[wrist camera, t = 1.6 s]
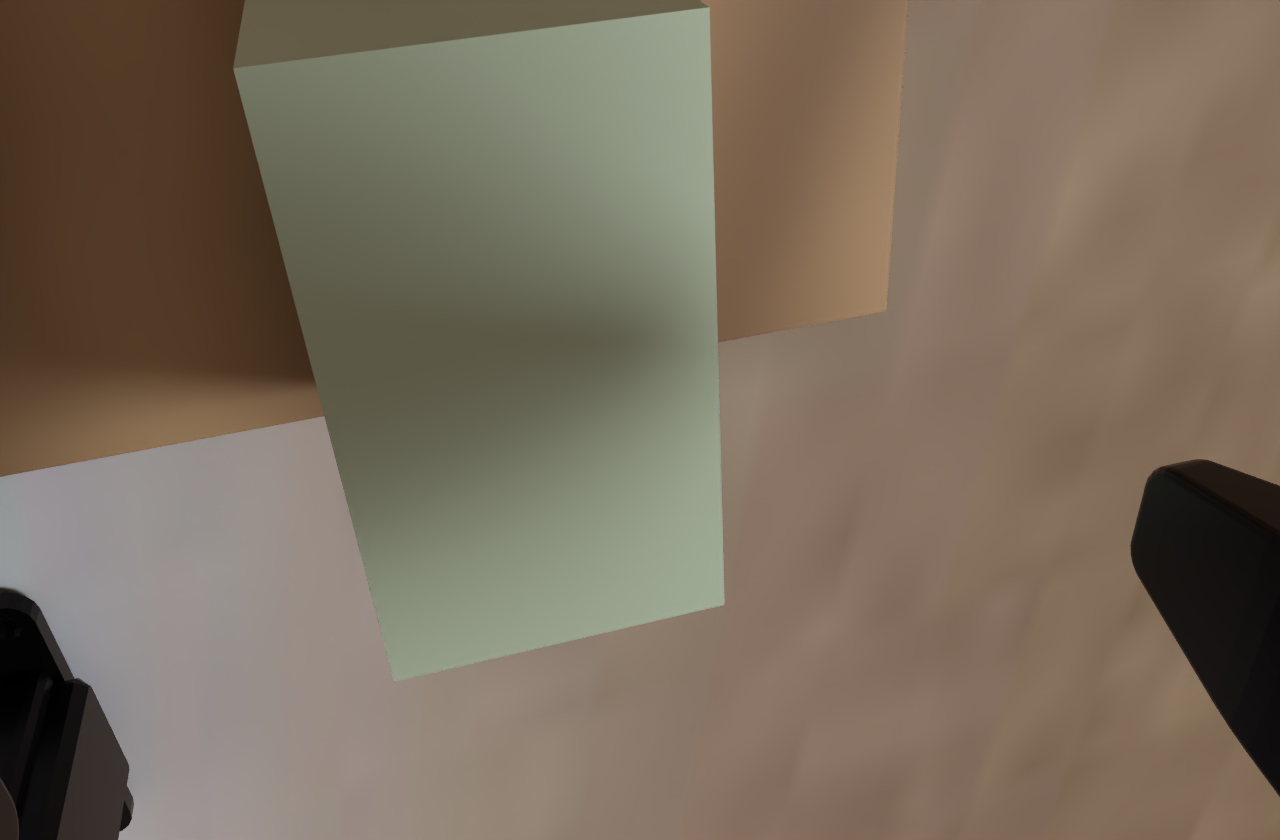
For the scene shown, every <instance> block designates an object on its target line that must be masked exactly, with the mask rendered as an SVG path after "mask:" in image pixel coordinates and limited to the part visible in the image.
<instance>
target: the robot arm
mask: <svg viewBox="0 0 1280 840" xmlns="http://www.w3.org/2000/svg"><path fill="white" fill-rule="evenodd" d="M1131 558H1132V563H1133V566H1134V568H1135V571H1136V573H1137V575H1138V577H1139V579H1140V580H1141V582H1142V584H1143V585H1144V587H1145V589H1146V590H1147V592H1148V594H1149V595H1150V597H1151V599H1152V601H1153V602H1154V604H1155V606H1156V607H1157V609H1158V611H1159V612H1160V614H1161V616H1162V617H1163V619H1164V621H1165V622H1166V624H1167V626H1168V627H1169V629H1170V631H1171V632H1172V634H1173V636H1174V637H1175V639H1176V641H1177V642H1178V644H1179V646H1180V647H1181V649H1182V651H1183V652H1184V654H1185V656H1186V657H1187V659H1188V661H1189V662H1190V664H1191V666H1192V667H1193V669H1194V671H1195V672H1196V674H1197V676H1198V677H1199V679H1200V681H1201V683H1202V684H1203V686H1204V688H1205V689H1206V691H1207V693H1208V694H1209V696H1210V698H1211V699H1212V701H1213V703H1214V704H1215V706H1216V707H1217V709H1218V710H1219V712H1220V714H1221V715H1222V717H1223V718H1224V720H1225V721H1226V723H1227V725H1228V726H1229V728H1230V729H1231V731H1232V732H1233V733H1234V735H1235V736H1236V738H1237V739H1238V740H1239V742H1240V743H1241V745H1242V746H1243V748H1244V749H1245V750H1246V752H1247V753H1248V755H1249V756H1250V757H1251V759H1252V760H1253V761H1254V763H1255V764H1256V765H1257V767H1258V768H1259V770H1260V771H1261V772H1262V774H1263V775H1264V776H1265V778H1266V779H1267V780H1268V782H1269V783H1270V784H1271V786H1272V787H1273V788H1274V790H1275V791H1276V792H1277V794H1278V795H1279V797H1280V486H1279V485H1276V484H1273V483H1270V482H1268V481H1265V480H1262V479H1259V478H1257V477H1254V476H1251V475H1248V474H1245V473H1243V472H1240V471H1237V470H1234V469H1232V468H1229V467H1226V466H1223V465H1220V464H1218V463H1215V462H1212V461H1209V460H1203V459H1196V460H1190V461H1185V462H1180V463H1176V464H1171V465H1166V466H1162V467H1159V468H1158V469H1156V470H1154V471H1153V473H1152V474H1151V475H1150V476H1149V478H1148V479H1147V482H1146V485H1145V489H1144V493H1143V497H1142V500H1141V504H1140V508H1139V512H1138V516H1137V520H1136V524H1135V528H1134V532H1133V536H1132V540H1131ZM9 618H10V619H13V620H16V621H18V622H19V623H20V624H17V625H7V624H4V623H1V622H0V840H118V837H119V831H122V830H123V829H125V828H126V827H127V826H128V825H129V823H130V821H131V819H132V813H133V806H134V802H133V797H132V795H131V793H130V791H129V789H128V787H127V780H128V773H129V765H128V762H127V760H126V758H125V756H124V754H123V752H122V750H121V748H120V745H119V743H118V741H117V739H116V737H115V735H114V733H113V731H112V729H111V727H110V725H109V723H108V721H107V718H106V716H105V714H104V712H103V710H102V708H101V706H100V704H99V702H98V700H97V698H96V696H95V694H94V691H93V689H92V687H91V686H90V685H88V684H87V683H85V682H84V681H82V680H81V679H79V678H76V679H74V677H73V675H72V673H71V671H70V669H69V667H68V665H67V663H66V660H65V658H64V656H63V654H62V652H61V650H60V648H59V646H58V644H57V642H56V640H55V638H54V636H53V634H52V632H51V630H50V628H49V626H48V624H47V622H46V620H45V618H44V616H43V614H42V612H41V610H40V608H39V607H38V606H37V604H36V603H35V602H34V601H32V600H31V599H29V598H27V597H25V596H21V595H16V594H2V595H0V619H9Z"/></svg>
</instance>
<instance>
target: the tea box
mask: <svg viewBox="0 0 1280 840" xmlns="http://www.w3.org/2000/svg"><path fill="white" fill-rule="evenodd" d="M233 70H234V74H235V78H236V81H237V85H238V89H239V93H240V97H241V100H242V104H243V108H244V112H245V116H246V119H247V123H248V127H249V131H250V135H251V138H252V142H253V146H254V150H255V154H256V157H257V161H258V165H259V169H260V173H261V176H262V180H263V184H264V188H265V192H266V196H267V199H268V203H269V207H270V211H271V215H272V218H273V222H274V226H275V230H276V234H277V237H278V241H279V245H280V249H281V253H282V256H283V260H284V264H285V268H286V272H287V275H288V279H289V283H290V287H291V291H292V294H293V298H294V302H295V306H296V310H297V314H298V317H299V321H300V325H301V329H302V333H303V336H304V340H305V344H306V348H307V352H308V355H309V359H310V363H311V367H312V371H313V374H314V378H315V382H316V386H317V390H318V393H319V397H320V401H321V405H322V409H323V412H324V416H325V420H326V424H327V428H328V432H329V435H330V439H331V443H332V447H333V451H334V454H335V458H336V462H337V466H338V470H339V473H340V477H341V481H342V485H343V489H344V492H345V496H346V500H347V504H348V508H349V511H350V515H351V519H352V523H353V527H354V530H355V534H356V538H357V542H358V546H359V550H360V553H361V557H362V561H363V565H364V569H365V572H366V576H367V580H368V584H369V588H370V591H371V595H372V599H373V603H374V607H375V610H376V614H377V618H378V622H379V626H380V629H381V633H382V637H383V641H384V645H385V648H386V652H387V656H388V660H389V664H390V668H391V671H392V675H393V679H394V682H396V681H400V680H404V679H408V678H413V677H417V676H421V675H426V674H430V673H434V672H438V671H443V670H447V669H451V668H456V667H460V666H464V665H468V664H473V663H477V662H481V661H486V660H490V659H494V658H498V657H503V656H507V655H511V654H516V653H520V652H524V651H528V650H533V649H537V648H541V647H546V646H550V645H554V644H559V643H563V642H567V641H571V640H576V639H580V638H584V637H589V636H593V635H597V634H601V633H606V632H610V631H614V630H619V629H623V628H627V627H631V626H636V625H640V624H644V623H649V622H653V621H657V620H661V619H666V618H670V617H674V616H679V615H683V614H687V613H691V612H696V611H700V610H704V609H709V608H713V607H717V606H721V605H724V567H723V527H722V486H721V446H720V406H719V366H718V326H717V286H716V245H715V205H714V165H713V125H712V85H711V45H710V7H709V6H707V5H706V4H704V3H703V2H701V1H700V0H245V3H244V9H243V15H242V20H241V26H240V32H239V38H238V43H237V49H236V55H235V60H234V66H233Z"/></svg>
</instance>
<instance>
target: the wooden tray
mask: <svg viewBox="0 0 1280 840" xmlns="http://www.w3.org/2000/svg"><path fill="white" fill-rule="evenodd" d="M700 1H701V2H703V3H704V4H706V5H707V6H709V7H710V45H711V85H712V125H713V165H714V205H715V245H716V286H717V326H718V342H722V341H728V340H733V339H738V338H744V337H749V336H755V335H760V334H765V333H771V332H776V331H781V330H787V329H792V328H797V327H803V326H808V325H813V324H819V323H824V322H829V321H835V320H840V319H845V318H851V317H856V316H861V315H867V314H872V313H877V312H883V311H886V308H887V294H888V279H889V265H890V251H891V237H892V223H893V209H894V195H895V181H896V167H897V152H898V138H899V124H900V110H901V96H902V82H903V68H904V54H905V39H906V25H907V11H908V0H700ZM244 3H245V0H0V477H1V476H6V475H12V474H17V473H22V472H28V471H33V470H38V469H44V468H49V467H54V466H60V465H65V464H70V463H76V462H81V461H86V460H92V459H97V458H102V457H108V456H113V455H119V454H124V453H129V452H135V451H140V450H145V449H151V448H156V447H161V446H167V445H172V444H177V443H183V442H188V441H193V440H199V439H204V438H209V437H215V436H220V435H225V434H231V433H236V432H241V431H247V430H252V429H257V428H263V427H268V426H274V425H279V424H284V423H290V422H295V421H300V420H306V419H311V418H316V417H322V416H324V412H323V409H322V405H321V401H320V397H319V393H318V390H317V386H316V382H315V378H314V374H313V371H312V367H311V363H310V359H309V355H308V352H307V348H306V344H305V340H304V336H303V333H302V329H301V325H300V321H299V317H298V314H297V310H296V306H295V302H294V298H293V294H292V291H291V287H290V283H289V279H288V275H287V272H286V268H285V264H284V260H283V256H282V253H281V249H280V245H279V241H278V237H277V234H276V230H275V226H274V222H273V218H272V215H271V211H270V207H269V203H268V199H267V196H266V192H265V188H264V184H263V180H262V176H261V173H260V169H259V165H258V161H257V157H256V154H255V150H254V146H253V142H252V138H251V135H250V131H249V127H248V123H247V119H246V116H245V112H244V108H243V104H242V100H241V97H240V93H239V89H238V85H237V81H236V78H235V74H234V70H233V66H234V60H235V55H236V49H237V43H238V38H239V32H240V26H241V20H242V15H243V9H244Z"/></svg>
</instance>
